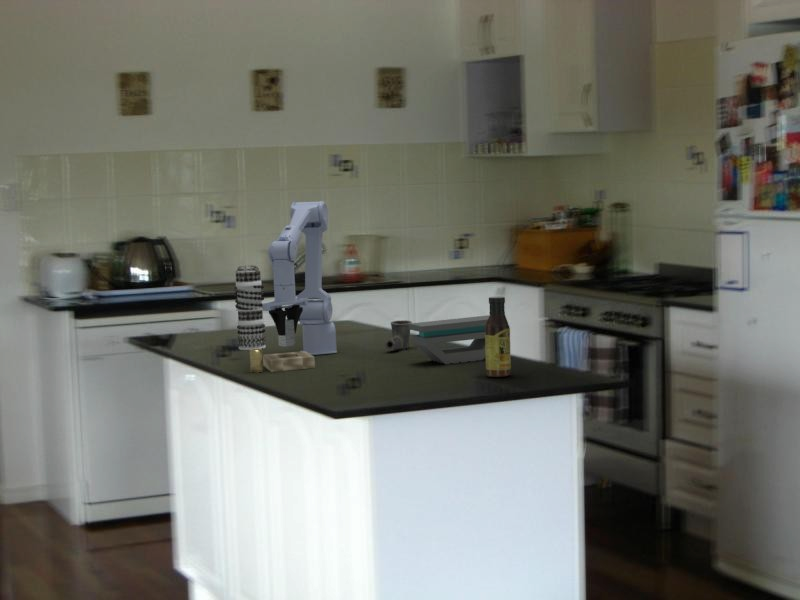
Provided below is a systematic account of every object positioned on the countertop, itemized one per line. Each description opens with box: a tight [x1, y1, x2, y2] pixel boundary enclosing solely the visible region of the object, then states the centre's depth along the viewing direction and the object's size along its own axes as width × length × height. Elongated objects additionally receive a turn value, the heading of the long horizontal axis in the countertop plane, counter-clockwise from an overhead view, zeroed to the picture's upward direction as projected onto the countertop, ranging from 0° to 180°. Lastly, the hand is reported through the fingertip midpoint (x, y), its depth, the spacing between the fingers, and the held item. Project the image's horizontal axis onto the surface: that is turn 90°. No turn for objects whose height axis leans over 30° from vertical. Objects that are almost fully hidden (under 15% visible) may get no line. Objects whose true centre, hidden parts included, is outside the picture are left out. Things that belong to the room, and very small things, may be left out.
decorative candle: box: [233, 265, 267, 351], centre depth 384 cm, size 9×9×25 cm
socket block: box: [262, 350, 316, 373], centre depth 345 cm, size 12×12×3 cm
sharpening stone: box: [409, 314, 490, 365], centre depth 344 cm, size 25×8×11 cm, turn 115°
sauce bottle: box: [485, 296, 512, 378], centre depth 316 cm, size 6×6×20 cm
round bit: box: [249, 349, 264, 374], centre depth 339 cm, size 3×3×6 cm
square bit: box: [277, 318, 296, 348], centre depth 345 cm, size 3×3×7 cm
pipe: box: [384, 320, 413, 352], centre depth 367 cm, size 6×13×8 cm, turn 158°
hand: (287, 334), depth 345 cm, fingers closed on square bit, 3 cm apart
